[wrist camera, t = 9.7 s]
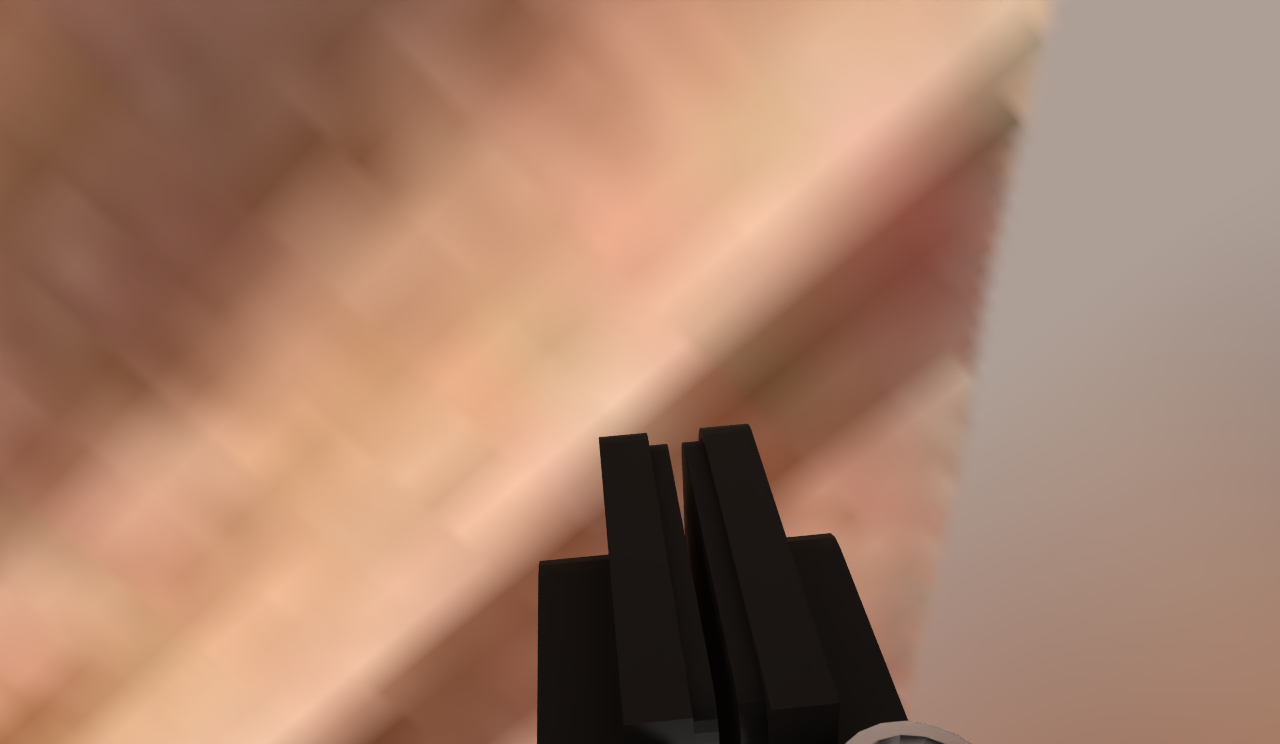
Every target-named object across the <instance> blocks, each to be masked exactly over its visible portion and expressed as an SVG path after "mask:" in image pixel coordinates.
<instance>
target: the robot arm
mask: <svg viewBox="0 0 1280 744" xmlns="http://www.w3.org/2000/svg"><path fill="white" fill-rule="evenodd" d="M599 445H600V457H601V469H602V480H603V492H604V504H605V516H606V528H607V539H608V551H609V555H599V556H589V557H578V558H568V559H557V560H547V561H540V563H539V575H538V700H537V744H971V743H970V742H968V741H967V740H965V739H964V738H963V737H961V736H960V735H958V734H955V733H953V732H950V731H948V730H945V729H942V728H940V727H938V726H935V725H932V724H925V723H918V722H912V721H908V719H907V716H906V714H905V711H904V709H903V706H902V704H901V701H900V699H899V696H898V694H897V691H896V689H895V686H894V683H893V681H892V678H891V676H890V673H889V671H888V668H887V666H886V663H885V661H884V658H883V655H882V653H881V650H880V648H879V645H878V643H877V640H876V638H875V635H874V633H873V630H872V628H871V625H870V622H869V620H868V617H867V615H866V612H865V610H864V607H863V605H862V602H861V600H860V597H859V594H858V592H857V589H856V587H855V584H854V582H853V579H852V577H851V574H850V572H849V569H848V567H847V564H846V561H845V559H844V556H843V554H842V551H841V549H840V546H839V544H838V542H837V540H836V538H835V537H834V536H833V535H832V534H831V533H828V534H818V535H807V536H797V537H786V535H785V532H784V529H783V526H782V522H781V519H780V516H779V513H778V510H777V507H776V504H775V501H774V498H773V495H772V492H771V489H770V486H769V483H768V480H767V477H766V473H765V470H764V467H763V464H762V461H761V458H760V455H759V452H758V449H757V446H756V443H755V440H754V437H753V434H752V431H751V428H750V426H749V425H748V424H740V425H729V426H718V427H707V428H700V430H699V441H695V442H684V443H682V473H683V498H684V522H685V534H684V529H683V523H682V518H681V513H680V508H679V502H678V497H677V492H676V487H675V481H674V476H673V471H672V465H671V460H670V455H669V450H668V445H667V444H662V445H651V446H649V441H648V436H647V433H641V434H630V435H619V436H608V437H599Z"/></svg>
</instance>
